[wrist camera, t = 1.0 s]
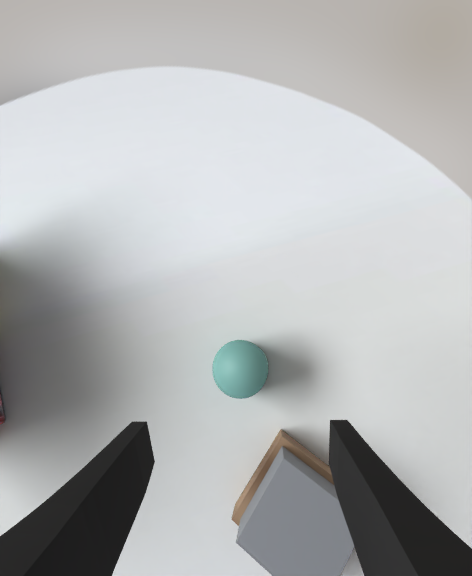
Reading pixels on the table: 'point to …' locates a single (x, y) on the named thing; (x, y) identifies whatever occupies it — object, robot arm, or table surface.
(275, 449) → the walnut base block
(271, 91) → the table surface
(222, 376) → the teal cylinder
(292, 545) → the grey top block
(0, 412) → the snack box
